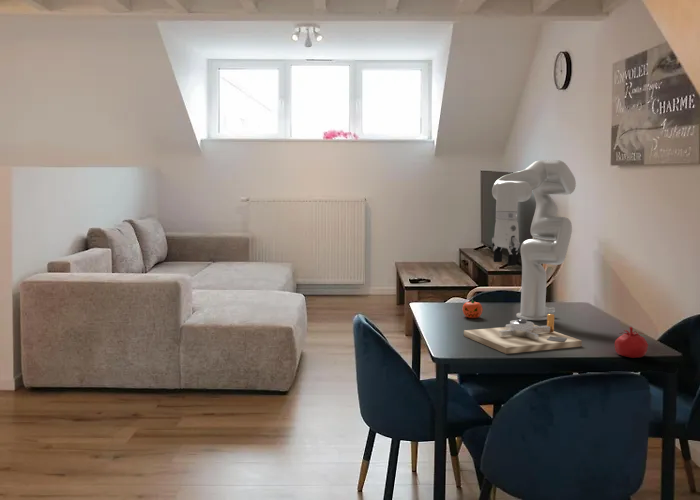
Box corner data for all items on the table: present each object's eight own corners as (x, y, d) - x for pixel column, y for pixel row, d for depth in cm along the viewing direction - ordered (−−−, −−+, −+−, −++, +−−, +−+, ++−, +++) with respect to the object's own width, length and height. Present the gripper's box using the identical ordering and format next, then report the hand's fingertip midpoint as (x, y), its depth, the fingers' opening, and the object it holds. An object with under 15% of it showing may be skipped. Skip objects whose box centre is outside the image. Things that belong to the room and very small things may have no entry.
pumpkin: (463, 315, 288) (464, 297, 288) (483, 316, 286) (484, 298, 285) (460, 318, 281) (461, 300, 280) (480, 320, 279) (481, 301, 278)
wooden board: (534, 330, 262) (534, 324, 262) (581, 346, 238) (581, 340, 238) (463, 335, 251) (463, 329, 251) (505, 353, 227) (506, 347, 227)
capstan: (515, 341, 234) (515, 323, 233) (486, 330, 249) (487, 313, 249) (568, 336, 242) (569, 319, 241) (538, 326, 257) (538, 309, 257)
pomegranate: (630, 361, 221) (632, 332, 219) (607, 353, 230) (608, 325, 228) (654, 358, 225) (656, 329, 223) (630, 350, 234) (632, 322, 232)
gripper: (528, 217, 248) (527, 266, 250) (502, 214, 264) (501, 260, 266) (510, 218, 245) (508, 267, 247) (485, 214, 262) (483, 260, 264)
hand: (504, 263), depth 257 cm, fingers open, 9 cm apart
